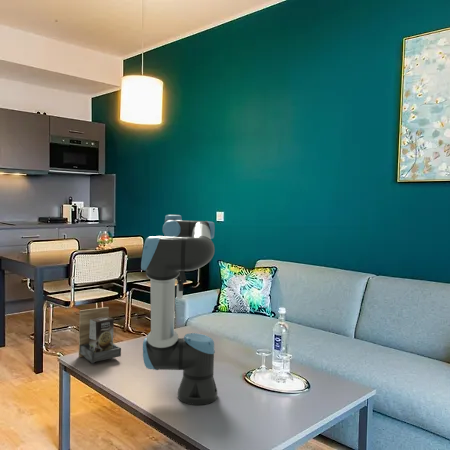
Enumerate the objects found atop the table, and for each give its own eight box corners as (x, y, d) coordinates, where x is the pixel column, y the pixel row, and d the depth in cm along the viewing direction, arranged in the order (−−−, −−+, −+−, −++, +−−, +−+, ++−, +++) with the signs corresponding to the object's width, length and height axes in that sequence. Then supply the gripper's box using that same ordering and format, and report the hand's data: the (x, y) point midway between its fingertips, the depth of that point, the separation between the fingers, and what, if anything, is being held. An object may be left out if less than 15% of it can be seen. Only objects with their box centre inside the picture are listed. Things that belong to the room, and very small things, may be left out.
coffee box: (96, 357, 197) (97, 321, 197) (88, 353, 202) (89, 319, 201) (113, 352, 204) (114, 318, 204) (105, 349, 209) (106, 315, 208)
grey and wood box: (121, 360, 203) (122, 313, 201) (91, 367, 194) (92, 317, 193) (106, 351, 214) (107, 306, 213) (78, 357, 205) (79, 310, 204)
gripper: (195, 251, 192) (193, 299, 193) (164, 246, 211) (163, 289, 212) (181, 252, 187) (179, 301, 188) (150, 246, 206) (149, 291, 207)
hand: (170, 295), depth 200 cm, fingers open, 13 cm apart
